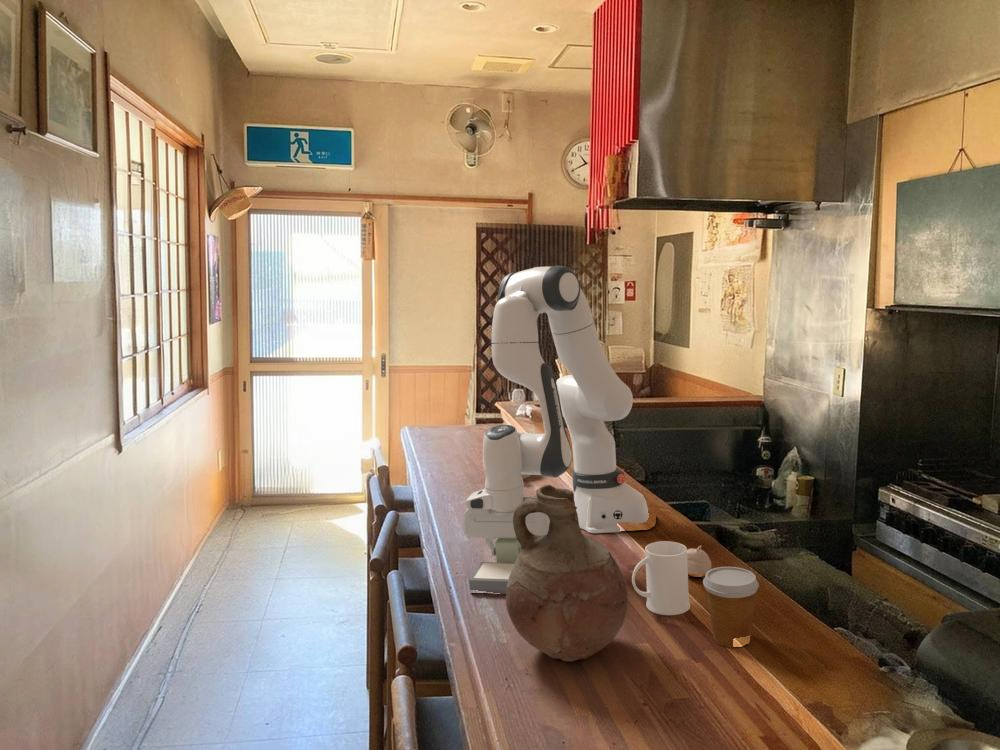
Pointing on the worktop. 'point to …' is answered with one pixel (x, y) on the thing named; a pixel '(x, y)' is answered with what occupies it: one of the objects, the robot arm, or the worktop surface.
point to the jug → (563, 582)
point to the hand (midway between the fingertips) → (509, 555)
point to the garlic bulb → (698, 561)
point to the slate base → (491, 577)
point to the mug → (665, 578)
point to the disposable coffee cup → (730, 602)
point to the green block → (507, 550)
